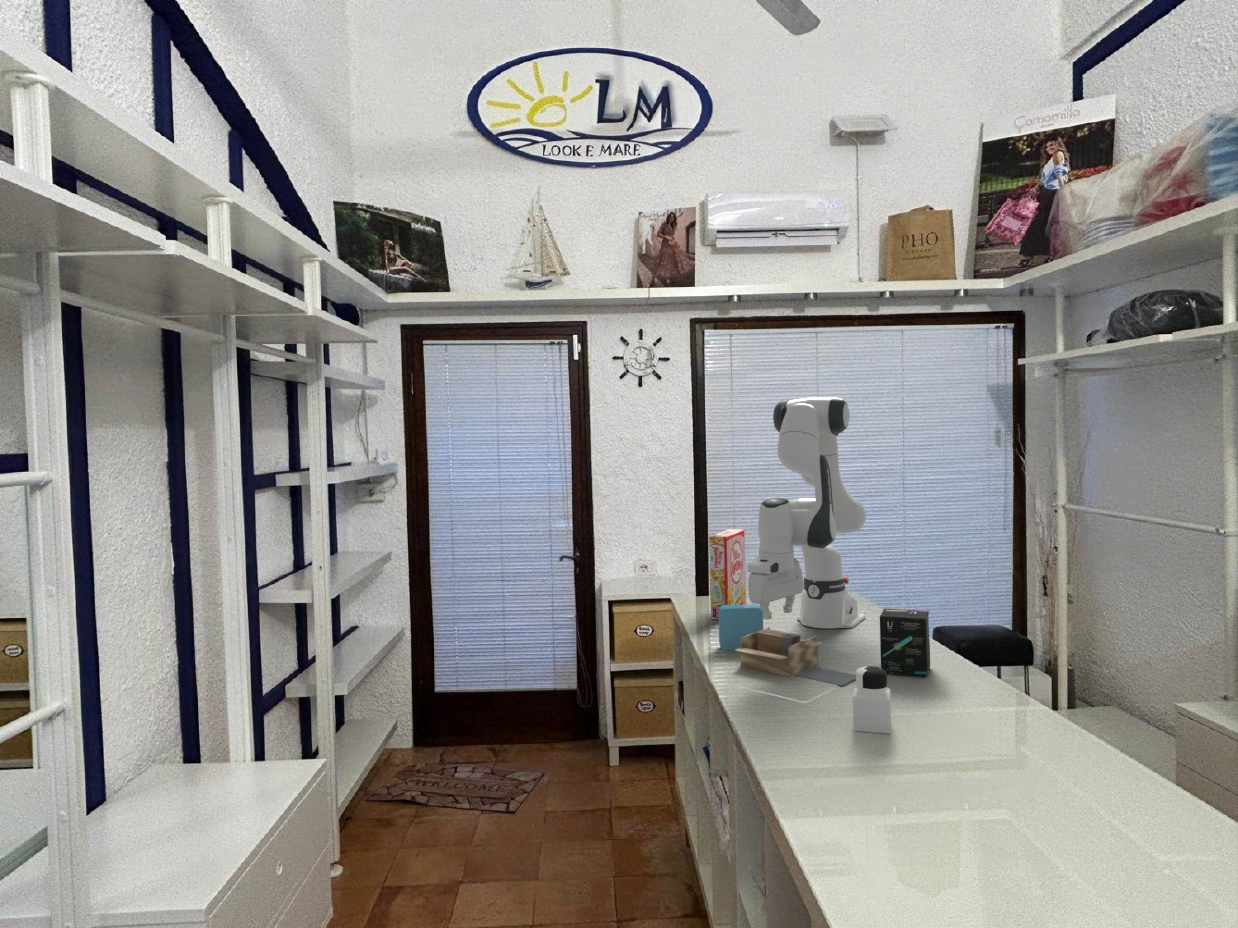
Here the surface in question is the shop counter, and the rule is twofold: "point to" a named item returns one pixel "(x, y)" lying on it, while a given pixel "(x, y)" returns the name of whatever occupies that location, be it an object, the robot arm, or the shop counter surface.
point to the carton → (779, 656)
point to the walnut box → (776, 641)
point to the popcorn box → (727, 569)
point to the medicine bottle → (871, 701)
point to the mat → (827, 676)
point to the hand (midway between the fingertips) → (777, 615)
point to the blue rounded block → (738, 624)
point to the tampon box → (905, 642)
